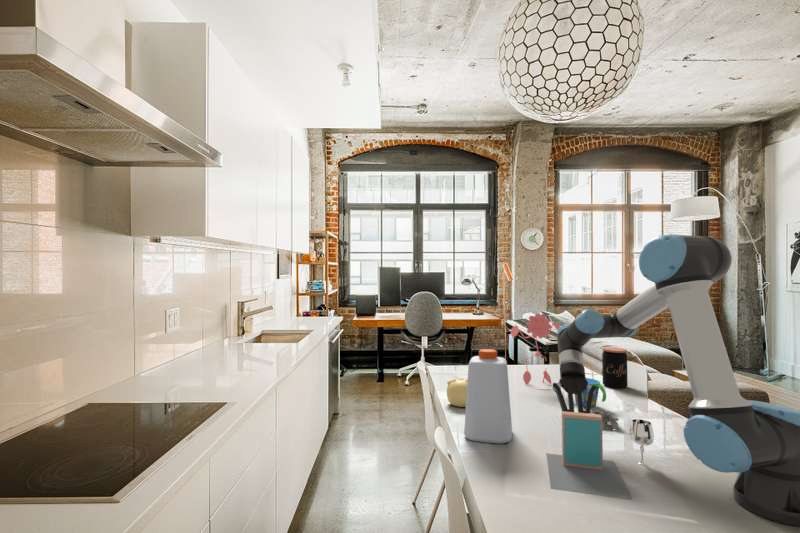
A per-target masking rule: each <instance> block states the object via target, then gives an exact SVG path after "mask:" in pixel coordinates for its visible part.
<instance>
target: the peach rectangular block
mask: <svg viewBox="0 0 800 533" xmlns="http://www.w3.org/2000/svg"><path fill="white" fill-rule="evenodd" d="M603 441H604V440H603V429H602V416H601V415H600V414H592V413H590V414H589V413H578V411H574V412H566V411H562V410H561V455H562V463H563V465H566V466H574V467H582V468H590V469H598V470H603V460H604V454H603V453H604V452H603V450H604V448H603V446H604V445H603V443H604V442H603Z"/></svg>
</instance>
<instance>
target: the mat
mask: <svg viewBox="0 0 800 533" xmlns="http://www.w3.org/2000/svg"><path fill="white" fill-rule="evenodd" d="M545 455H546V460H547V461H546V462H547V468H548V470H547V471H548V478H549V483H550V489H552V490H559V491H565V492H566V491H567V492H572V493H573V492H574V493H579V494H580V493H581V494H586V495H593V496H601V497H609V498H616V499H623V500H631V501H634V499H633V496H632V495H631V492H630V491H629V488H628V487H627V485H626V482H625V481H624V478H623V477H622V474H621V472H620V470H619V468H618V466H617V464H616V462H615V461H614V460H606V459H603V470H598V469H590V468H582V467H574V466H566V465H563V463H562V454H556V453H555V454H554V453H548V452H547V453H546V454H545Z"/></svg>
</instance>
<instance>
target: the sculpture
mask: <svg viewBox="0 0 800 533" xmlns="http://www.w3.org/2000/svg"><path fill="white" fill-rule="evenodd" d="M467 381H468V379H465V378H463V377H458V378H455V379H451V380H448V381H446V383H447V387H446V397H447V401H448V402H449V404H450V405H452V406H454V407H459V408H464V407H465V408H466V397H467Z"/></svg>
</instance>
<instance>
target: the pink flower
mask: <svg viewBox="0 0 800 533" xmlns="http://www.w3.org/2000/svg"><path fill="white" fill-rule="evenodd" d="M528 319H529V322H527V323H526V327H527V329H526V333H527V334H531V335H530V336H525V335H524V334H523V333H522V331H521V330H520V329H519V327H518V325H517V324H515V325H513V327H511V329H510V335H511V337H512V339H514V338H515V337H516V336H517V335H519V333H520V334H521V336H522V337H523V339H529V338H533V339H535V345H536V351H535V352H534V355H531V356H529V357H527V358H526V359H525V364H526V365H525V366H526V368H528V361H527V360H528V359H531V358H533V357H537V358H539V357H542V358H544V359H545V360H547V357H545V356H544V355H542V352H540V351H539V346H538V342H537V341H538V340H537V338H539V339H543V338H545V337H546V338H547V337H548V336H549V335H550V332H551V330H552V328H553V327H554V329H556V330H557V331H558V329H559V328H560V327H561V325H560V324H558V323H557V322H555V321H553V322H552V324H550V323H551V319H550V318H546V314H545V313H543V312H542V313H541V314H540V313H535V314H534V315H529V316H528ZM542 374H543V378H542V383H545V381H546V382H548V384H550V385H552V379H551V376H550V374H549V373H548V372H547V369H545V370H544V371H543V373H542ZM522 379H523V382H524V384H525V386H527V385H528V384H530V382H531V379H532V374H531V372H530V371H529V370H528V369H526V371H524V373H523V376H522ZM538 390H543V391H544V390H545V391H549V390H550V391H551V390H553V388H550V389H549V388H548V389H546V388H545V389H544V388H543V389H542V388H538Z"/></svg>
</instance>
